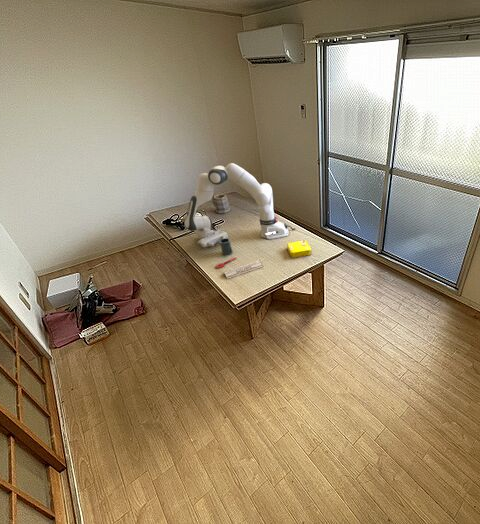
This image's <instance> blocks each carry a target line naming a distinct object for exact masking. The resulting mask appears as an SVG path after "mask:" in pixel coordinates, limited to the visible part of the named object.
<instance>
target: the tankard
mask: <svg viewBox="0 0 480 524" xmlns="http://www.w3.org/2000/svg"><path fill="white" fill-rule="evenodd" d="M211 200H212V204H213V206H214V207H215V213H217V214H226V213H229V212H231V207H230V204H229V202H228V200H229V199H228V197H227V195H226V194H216V195H215V194H213V197H212V199H211Z"/></svg>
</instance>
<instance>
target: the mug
mask: <svg viewBox="0 0 480 524" xmlns="http://www.w3.org/2000/svg"><path fill="white" fill-rule="evenodd" d="M218 243H219V245H220V249H221V253H222V255H223V256H229V255H231V254H233V248H232V244H231V240H230V238H228V237H227V238H224V239H221V240H220V241H219V242H218Z"/></svg>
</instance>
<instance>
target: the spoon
mask: <svg viewBox="0 0 480 524" xmlns="http://www.w3.org/2000/svg"><path fill="white" fill-rule="evenodd" d="M236 259H237V258H236V257H233V258H231V259H229V260H227V261H225V262H223V263H222V262H221V263H219V264H217V265H216V266H215V268H216V269H221V268H224V267H225V265H227V264H228V263H231V262H232V261H235V260H236Z"/></svg>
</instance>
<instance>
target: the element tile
mask: <svg viewBox="0 0 480 524" xmlns="http://www.w3.org/2000/svg"><path fill="white" fill-rule="evenodd" d="M286 249H287V252H288V254H289V256H290V258H291V259H295V258H301V257H306V256H310V255H312V248H311V246H310V244H309V242H308V241H307V240H305V239H302V240H297V241H291V242H288V243H287V244H286Z"/></svg>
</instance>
